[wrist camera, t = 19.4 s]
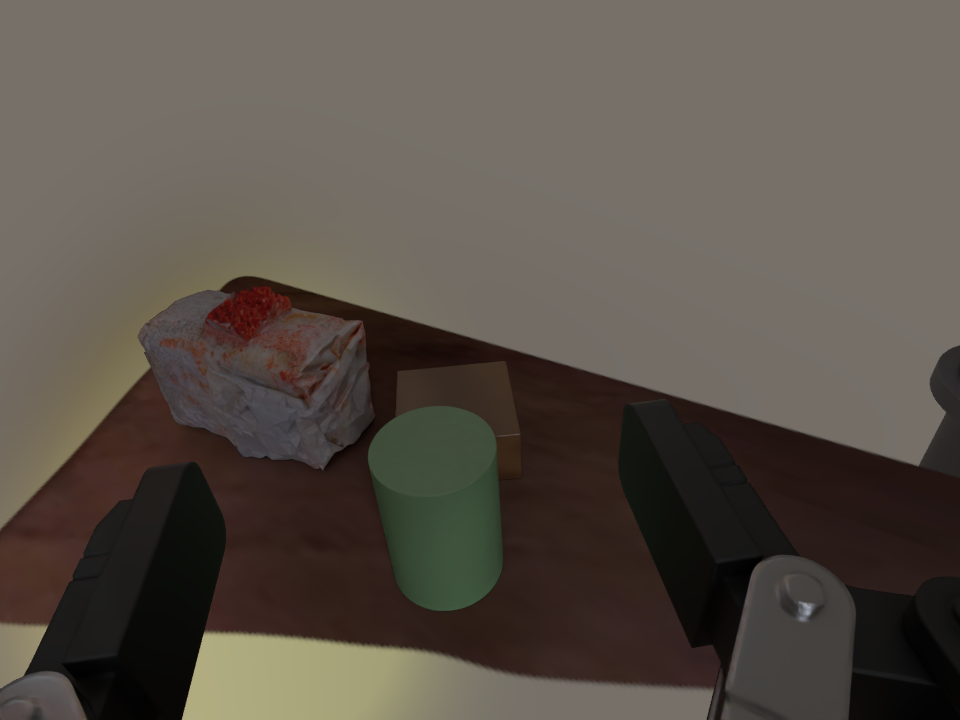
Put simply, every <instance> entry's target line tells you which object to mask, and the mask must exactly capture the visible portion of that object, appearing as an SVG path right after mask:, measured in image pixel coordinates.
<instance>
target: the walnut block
mask: <svg viewBox="0 0 960 720" xmlns="http://www.w3.org/2000/svg"><path fill="white" fill-rule="evenodd" d="M432 406H448V407H456V408H460V409H464V410H467V411H469V412H472V413H474V414H476V415H477V416H479V417H480V418H482V419H483V420H484V421H485V422H486V423H487V424H488V425H489V426H490V428H491V429H492V431H493V433H494V435H495V438H496V443H497V459H498V476H499V480H507V479H517V478H521V477H522V469H521V433H520V428H519V423H518V418H517V414H516V409H515V404H514V399H513V394H512V389H511V384H510V379H509V375H508V370H507V365H506V361H501V362H490V363H480V364H469V365H459V366H448V367H438V368H427V369H417V370H406V371H398V372H397V389H396V409H395V418H396V417H398V416H399V415H402V414H404V413H406V412H409V411H412V410H415V409H419V408H424V407H432Z"/></svg>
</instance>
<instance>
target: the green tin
mask: <svg viewBox="0 0 960 720" xmlns="http://www.w3.org/2000/svg"><path fill="white" fill-rule="evenodd" d="M368 465H369V469H370V473H371V477H372V482H373V486H374V490H375V495H376V499H377V503H378V508H379V512H380V516H381V521H382V525H383V529H384V533H385V538H386V542H387V546H388V551H389V555H390V559H391V564H392V568H393V572H394V576H395V580H396V583H397V585H398V587H399V588H400V590H401V592H402V593H403V594H404V595H405V596H406V597H407V598H408V599H409V600H411V601H412V602H414V603H415V604H417V605H419V606H421V607H424V608H427V609H430V610H437V611H451V610H457V609H461V608H464V607H467V606H470V605H472V604H474V603H476V602H477V601H479V600H480V599H482V598H483V597H484V596H485V595H487V594H488V593H489V592H490V591H491V589H492V588H493V587H494V585H495V584H496V583H497V581H498V579H499V577H500V574H501V571H502V566H503V547H502V530H501V512H500V494H499V476H498V459H497V443H496V438H495V435H494V433H493V431H492V429H491V428H490V426H489V425H488V424H487V423H486V422H485V421H484V420H483V419H482V418H480V417H479V416H477V415H476V414H474V413H472V412H469V411H467V410H464V409H460V408H456V407H448V406H432V407H424V408H419V409H415V410H412V411H409V412H406V413H404V414H402V415H399V416H398V417H396V418H394V419H392V420H391V421H390V422H388V423H387V424H386V425H384V426H383V427H382V428H381V429H380V430H379V431H378V433H377V434H376V435H375V437H374V438H373V440H372V442H371V444H370V447H369V451H368Z"/></svg>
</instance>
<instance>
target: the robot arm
mask: <svg viewBox="0 0 960 720" xmlns="http://www.w3.org/2000/svg"><path fill="white" fill-rule="evenodd" d="M958 372H959V376H960V364H959V367H958ZM618 466H619V475H620V480H621V484H622V488H623V491H624V493H625V496H626V498H627V500H628V503H629V505H630V507H631V509H632V512H633V514H634V516H635V519H636V521H637V523H638V526H639V528H640V530H641V532H642V535H643V537H644V539H645V542H646V544H647V546H648V549H649V551H650V553H651V555H652V558H653V560H654V562H655V565H656V567H657V569H658V572H659V574H660V576H661V578H662V581H663V583H664V585H665V588H666V590H667V592H668V595H669V597H670V599H671V601H672V604H673V606H674V608H675V611H676V613H677V615H678V618H679V620H680V622H681V624H682V627H683V629H684V631H685V634H686V636H687V638H688V641H689V643H690V645H691V647H692V648H695V647H701V646H707V645H713V647H714V649H715V651H716V653H717V655H718V657H719V659H720V662H721V665H720V668H719V671H718V675H717V680H716V684H715V688H714V692H713V696H712V700H711V704H710V708H709V712H708V716H707V720H960V578H957V577H937V578H932V579H930V580H927V581H926V582H924V583H923V584H922V585H921V586H920V588H919V589H918V590H917V592H916V594H915V595H914V596H910V595H903V594H896V593H888V592H881V591H874V590H867V589H861V588H856V587H851V586H848V585H845V584H843V583H842V582H841V581H840V579H839V578H837V577H836V576H835V575H834V574H833V573H832V572H830V571H829V570H827V569H826V568H825V567H823V566H821V565H819V564H817V563H816V562H813V561H811V560H808V559H806V558H802V557H800V556H799V554H798V553H797V552H796V551H795V549H794V548H793V546H792V545H791V543H790V542H789V540H788V539H787V537H786V536H785V534H784V533H783V532H782V530H781V529H780V527H779V526H778V524H777V523H776V521H775V520H774V518H773V517H772V515H771V514H770V512H769V511H768V509H767V508H766V506H765V505H764V503H763V502H762V500H761V499H760V497H759V496H758V494H757V493H756V491H755V490H754V488H753V487H752V485H751V484H750V483H748V482H747V478H746V476H745V475H744V473H743V472H742V470H741V469H740V467H739V466H738V465H736V464H735V460H734V458H733V457H732V456H731V454H730V453H729V451H728V450H727V448H726V447H725V445H724V444H723V442H722V441H721V439H720V438H718V437H717V436H716V435H714V434H713V433H712V432H710V431H709V430H708V429H706V428H705V427H704V426H702V425H701V424H700V423H698V422H693V423H686V424H683V423H682V421H681V420H680V418H679V417H678V415H677V413H676V412H675V410H674V408H673V407H672V405H671V404H670V402H669V401H668V400H666V399H661V400H653V401H646V402H639V403H631V404H627V405H626V406H625V408H624V413H623V422H622V431H621V441H620V450H619V460H618ZM225 545H226V528H225V522H224V518H223V515H222V513H221V511H220V509H219V507H218V504H217V502H216V500H215V498H214V496H213V494H212V492H211V490H210V488H209V485H208V483H207V481H206V479H205V477H204V475H203V473H202V471H201V469H200V467H199V466H198V464H196V463H195V462H187V463H180V464H172V465H165V466H158V467H151V468H149V469H147V470H146V472H145V473H144V475H143V477H142V479H141V481H140V484H139V486H138V488H137V490H136V493H135V495H134V497H133V499H130V500H123V501H119V502H118V503H117V504H116V506H115V507H114V508H113V509H112V510H111V511H110V512H109V513H108V514H107V515H106V516H105V517H104V518H103V519H102V521H101V522H100V523H99V524H98V525H97V526H96V528H95V530H94V532H93V534H92V536H91V538H90V540H89V542H88V544H87V547H86V549H85V551H84V553H83V554H84V558H82V559H80V561H79V563H78V565H77V567H76V569H75V572H74V574H73V581H71V582H69V584H68V586H67V588H66V590H65V592H64V594H63V597H62V599H61V601H60V603H59V605H58V607H57V609H56V611H55V613H54V615H53V617H52V619H51V621H50V624H49V626H48V628H47V630H46V632H45V634H44V636H43V638H42V640H41V642H40V645H39V646H38V649H37V651H36V653H35V655H34V657H33V659H32V662H31V663H30V665H29V667H28V669H27V671H26V673H25V674H24V676H23V677H21V678H19V679H16V680H14V681H12V682H11V683H9V684H7V685H6V686H4V687H3V688H1V689H0V720H182V716H183V712H184V708H185V705H186V701H187V697H188V692H189V689H190V685H191V681H192V677H193V673H194V669H195V665H196V661H197V657H198V653H199V649H200V645H201V642H202V637H203V634H204V630H205V626H206V622H207V618H208V614H209V610H210V606H211V602H212V598H213V594H214V590H215V586H216V582H217V579H218V575H219V571H220V567H221V563H222V559H223V555H224V551H225Z"/></svg>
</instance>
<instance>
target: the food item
mask: <svg viewBox="0 0 960 720" xmlns="http://www.w3.org/2000/svg"><path fill="white" fill-rule="evenodd" d="M138 339H139V340H140V342H141V345H142V346H143V347H144V349H145V351H146V352H144V353H145V355H146V358H147V360H148V362H149V364H150V366H151V368H152V370H153V372H154V374H155V377H156V379H157V381H158V382H159V386H160V390H161V392H162V394H163V396H164V398H165V400H166V401H167V402H168V405H169V407H170V410H171V414H172V416H173V418H174V420H175V421H176V422H178V423H179V424H181V425H189V426H191V427H201V428H206V429H207V430H209V431H210V432H212V433H215V434H218V435H221V436H224V437H227V438H228V439H229V440H230V441H231V442H232V443H233V445H234V446H235V447H236V448H237V450H238V451H239V453H241V454H242V455H243V456H244V457H250V456H252V457H257V458H262V457H264V456H267V457H269V458H270V459H272V460H289V459H294V460H297V461H301V462H304V463H306V464H307V465H309V466H311V467H313V468H315V469H316V470H317V469H319V468H321V469H322V470H324V468H325V466H326V465H327V463H328V462H329V460H330V459H331V457H332V456H333V455H334V453H335V452H338V451H341V450H342V449H343V448H345V447H346V446H347V445H349V444H354V443H355V442H356V441H357V440H358V438H359V437H360V436H361V433H362V432H363V431H364V430H365V429H366V428H367V427H368V426H369V425H370V423H371V422H372V421H373V419H374V418H375V412H374V408H373V405H372V400H371V388H370V380H369V376H368V370H369V368H370V365H369V362H367V359H366V334H365V330H364V327H363V321H357V320H351V321H344V320H343V319H342V318H337V317H335V316H330V315H324V314H319V313H311V312H306V311H302V310H298V309H294V308H291V301H290V300H289V297H286V296H285V297H282V296H281V295H280V294H274V291H273V292H272V291H271V287H268V286H264V287H253V289H252V291H250V290H249V289H248V288H247V290H245V291H242V290H240V292H239V293H236V292H235V291H233V292H232V293H231V294H225V293H223V292H220V291H218V290H217V291H212V290H206V291H202V292H198V293H195V294H193V295H190V296H187V297H185V298H182V299H179V300H177V301H175V302H174V303H173V304H171V305H170V306H169V307H168V308H167V309H166V310H164V311H162V312H160V313H159V314H158V315H156V316H155V317H154V318H152V319H151V320H150V321H148V322H147V323H146V324H145V325H144V326H143V327H142V329H141V330H140V333H139V335H138Z"/></svg>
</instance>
